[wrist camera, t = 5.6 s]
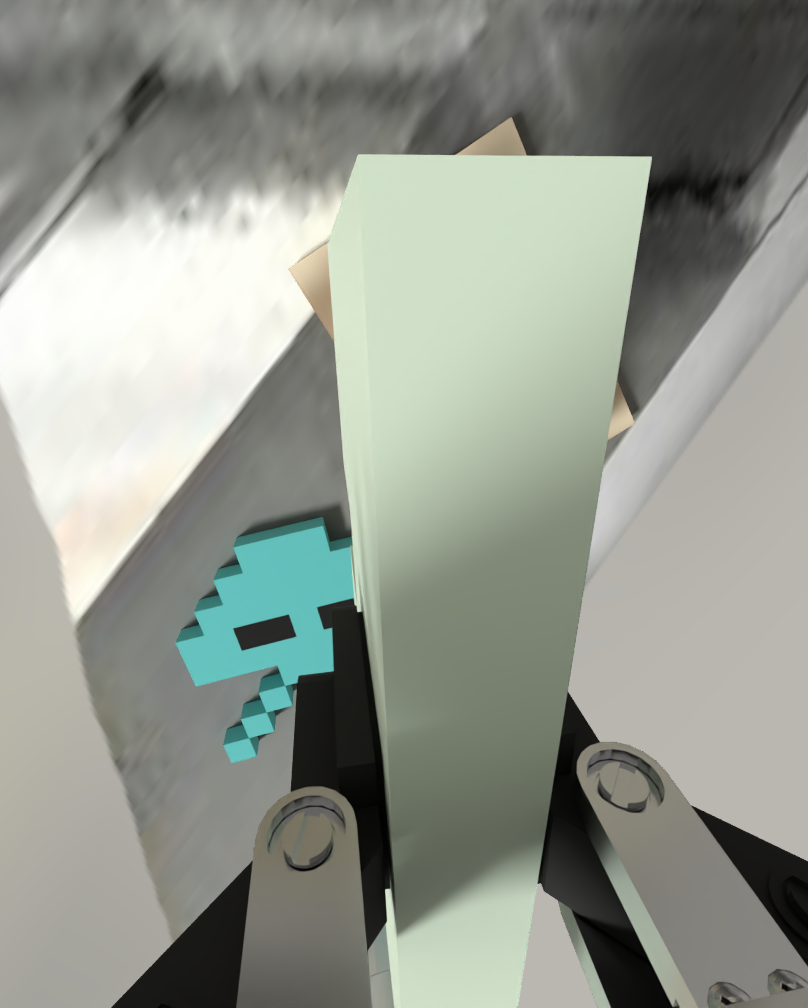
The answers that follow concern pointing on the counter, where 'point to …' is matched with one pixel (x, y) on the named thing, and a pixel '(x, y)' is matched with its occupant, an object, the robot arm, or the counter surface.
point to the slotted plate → (474, 516)
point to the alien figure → (270, 620)
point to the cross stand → (316, 267)
